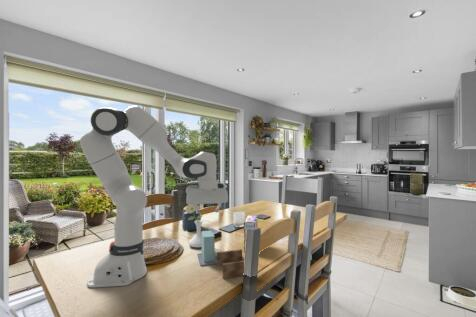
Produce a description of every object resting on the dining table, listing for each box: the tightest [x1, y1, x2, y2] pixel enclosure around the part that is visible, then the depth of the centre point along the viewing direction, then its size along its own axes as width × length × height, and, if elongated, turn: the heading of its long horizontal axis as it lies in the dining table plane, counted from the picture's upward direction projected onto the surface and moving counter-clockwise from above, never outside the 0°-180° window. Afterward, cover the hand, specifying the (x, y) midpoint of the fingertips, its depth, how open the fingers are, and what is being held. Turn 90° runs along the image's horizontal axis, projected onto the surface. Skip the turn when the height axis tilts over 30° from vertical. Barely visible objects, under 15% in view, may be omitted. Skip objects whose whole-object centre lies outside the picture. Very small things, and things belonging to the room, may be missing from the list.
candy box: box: [243, 215, 259, 253], centre depth 132 cm, size 14×6×16 cm, turn 168°
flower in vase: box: [185, 204, 204, 249], centre depth 136 cm, size 13×11×25 cm
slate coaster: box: [196, 252, 217, 267], centre depth 119 cm, size 9×13×1 cm
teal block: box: [201, 230, 216, 262], centre depth 119 cm, size 5×9×12 cm, turn 16°
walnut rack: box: [216, 249, 245, 280], centre depth 108 cm, size 12×13×6 cm
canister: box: [181, 206, 202, 232], centre depth 167 cm, size 13×13×18 cm
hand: (207, 212), depth 118 cm, fingers open, 8 cm apart
